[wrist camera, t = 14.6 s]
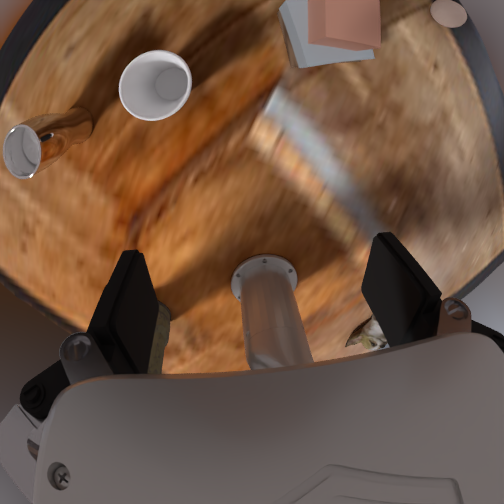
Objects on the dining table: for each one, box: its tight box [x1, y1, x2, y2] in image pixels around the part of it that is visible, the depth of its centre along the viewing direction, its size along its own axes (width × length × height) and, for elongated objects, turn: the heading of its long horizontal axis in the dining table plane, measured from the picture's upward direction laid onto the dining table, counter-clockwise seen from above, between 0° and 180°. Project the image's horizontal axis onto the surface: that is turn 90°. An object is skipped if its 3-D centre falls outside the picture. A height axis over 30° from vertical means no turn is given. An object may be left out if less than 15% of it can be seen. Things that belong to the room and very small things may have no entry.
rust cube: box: [308, 0, 381, 51], centre depth 20 cm, size 6×6×6 cm
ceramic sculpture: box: [345, 314, 388, 350], centre depth 62 cm, size 11×9×15 cm
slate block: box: [279, 0, 375, 68], centre depth 25 cm, size 9×9×4 cm
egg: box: [430, 0, 467, 28], centre depth 22 cm, size 6×6×8 cm
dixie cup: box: [119, 50, 192, 121], centre depth 28 cm, size 8×8×11 cm
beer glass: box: [3, 107, 93, 179], centre depth 27 cm, size 7×7×15 cm
